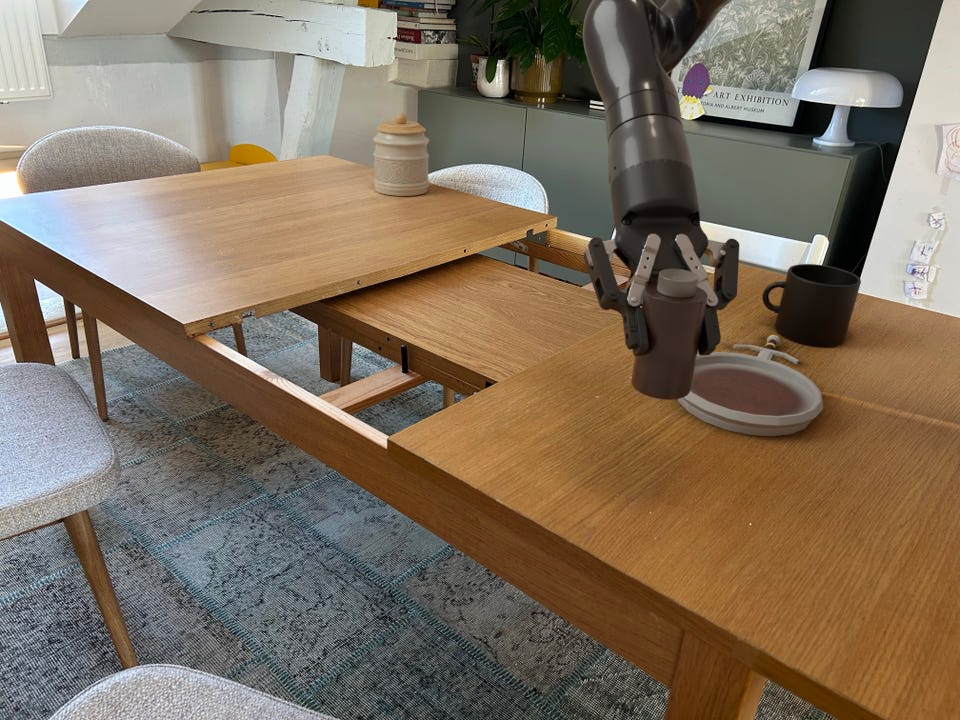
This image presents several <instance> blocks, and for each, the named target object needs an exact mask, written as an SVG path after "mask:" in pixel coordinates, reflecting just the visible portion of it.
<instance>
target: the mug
mask: <svg viewBox="0 0 960 720" xmlns="http://www.w3.org/2000/svg"><path fill="white" fill-rule="evenodd" d="M861 284H862V280H861V277H859V276H858V275H856V274H854V273H853V272H850V271H848V270H845V269H842V268H838V267H835V266H830V265H824V264H814V263H801V264H799V263H798V264H795V265H794V264H793V265H791V266H789V268H788V269H787V273H786V276H785V280H781V281H774V282H772V283H770V284H768V285H767V286H766V287H765V288H764V290H763V292H762V302H763V305H764V307H765V308H767V309H768V310H769V311H771V312H772V313H775V314H777V315H776V319H775V323H774V327H775V331H776V332H777V333H778V334H779V335H781V336H782V337H784V338H786V339H788V340H790V341H792V342H794V343H798V344H802V345H806V346H811V347H812V346H813V347H823V348H824V347H835V346H839V345H841V344H842V343H843V342H844V341H845V339H846V337H847V333H848V329H849V325H850V322H851V318H852V316H853V312H854V308H855V304H856V302H857V299H858V294H859V291H860V288H861V287H860V286H861ZM777 288H780V289H782V294H781V298H780V301H779V302H780V303H779V305H775V304H773V303H772V302H771V301H770V298H769V295H770V293H771V292H772V291H773V290H774V289H777Z"/></svg>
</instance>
